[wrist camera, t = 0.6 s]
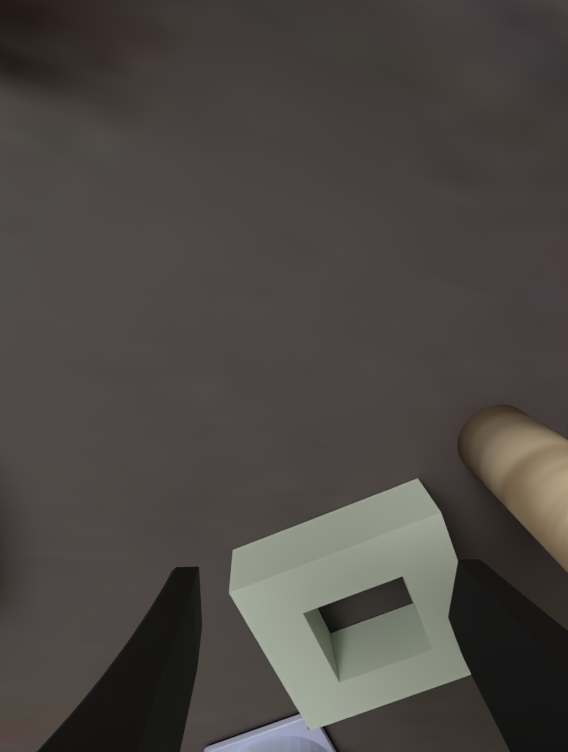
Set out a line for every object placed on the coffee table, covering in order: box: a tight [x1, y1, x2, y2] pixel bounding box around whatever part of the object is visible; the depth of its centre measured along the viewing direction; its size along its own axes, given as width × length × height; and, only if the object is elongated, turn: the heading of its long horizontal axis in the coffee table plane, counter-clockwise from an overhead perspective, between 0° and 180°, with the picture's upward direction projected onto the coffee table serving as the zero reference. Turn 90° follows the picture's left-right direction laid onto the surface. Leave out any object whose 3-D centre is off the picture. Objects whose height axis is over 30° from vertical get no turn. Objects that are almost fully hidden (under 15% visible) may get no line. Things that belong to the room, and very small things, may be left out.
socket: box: [229, 479, 471, 731], centre depth 23 cm, size 11×11×3 cm
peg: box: [458, 405, 568, 572], centre depth 18 cm, size 4×4×9 cm
